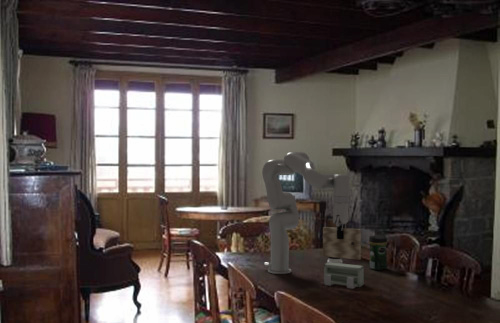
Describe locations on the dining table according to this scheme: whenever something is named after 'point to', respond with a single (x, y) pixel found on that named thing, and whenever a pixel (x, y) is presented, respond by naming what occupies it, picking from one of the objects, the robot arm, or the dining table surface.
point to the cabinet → (343, 274)
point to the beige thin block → (342, 243)
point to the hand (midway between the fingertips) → (341, 238)
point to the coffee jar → (378, 252)
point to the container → (334, 260)
